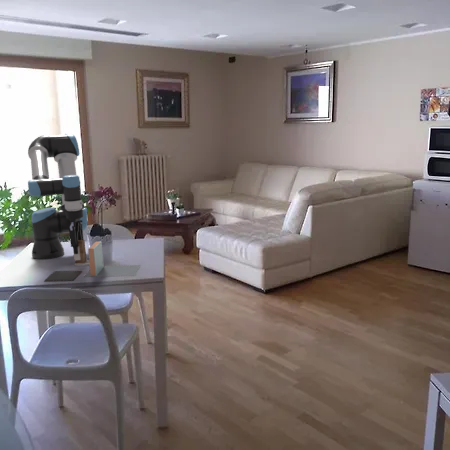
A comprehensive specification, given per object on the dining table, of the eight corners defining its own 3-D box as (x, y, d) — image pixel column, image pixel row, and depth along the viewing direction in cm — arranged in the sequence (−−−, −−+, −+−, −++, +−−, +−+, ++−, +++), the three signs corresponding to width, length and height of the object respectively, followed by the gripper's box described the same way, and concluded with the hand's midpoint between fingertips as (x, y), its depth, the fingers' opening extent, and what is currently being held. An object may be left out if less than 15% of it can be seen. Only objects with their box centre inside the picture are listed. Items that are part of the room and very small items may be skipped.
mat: (93, 267, 214) (93, 266, 214) (141, 265, 213) (141, 264, 213) (83, 278, 199) (83, 277, 199) (135, 276, 199) (134, 275, 199)
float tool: (79, 261, 223) (77, 239, 221) (100, 260, 223) (98, 238, 220) (74, 266, 215) (71, 243, 213) (95, 266, 215) (93, 243, 213)
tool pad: (54, 273, 206) (54, 271, 206) (81, 272, 206) (81, 270, 206) (44, 282, 195) (44, 280, 195) (73, 282, 195) (72, 279, 194)
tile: (98, 267, 212) (95, 241, 209) (103, 266, 212) (101, 241, 209) (90, 275, 200) (88, 248, 198) (96, 275, 200) (94, 248, 198)
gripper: (76, 212, 205) (81, 263, 210) (87, 205, 222) (92, 253, 227) (59, 213, 205) (64, 264, 210) (71, 206, 222) (76, 253, 227)
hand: (79, 258), depth 218 cm, fingers closed on float tool, 4 cm apart
